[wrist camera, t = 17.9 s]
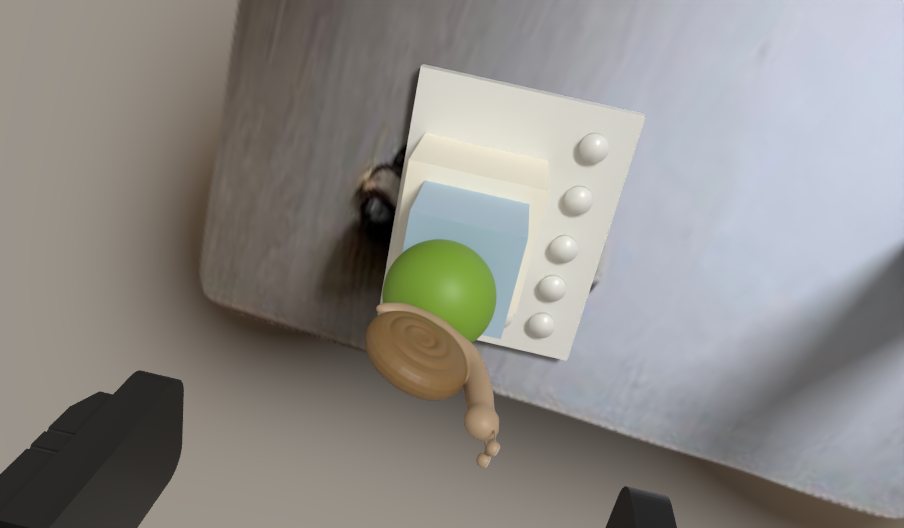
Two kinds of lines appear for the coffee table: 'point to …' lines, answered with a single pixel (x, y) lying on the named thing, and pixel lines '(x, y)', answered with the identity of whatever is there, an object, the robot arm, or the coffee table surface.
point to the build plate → (570, 186)
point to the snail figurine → (438, 331)
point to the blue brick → (475, 234)
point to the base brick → (477, 185)
